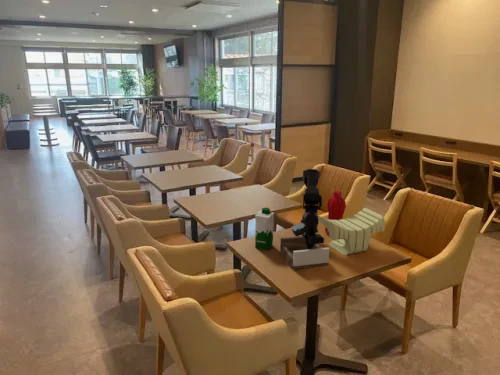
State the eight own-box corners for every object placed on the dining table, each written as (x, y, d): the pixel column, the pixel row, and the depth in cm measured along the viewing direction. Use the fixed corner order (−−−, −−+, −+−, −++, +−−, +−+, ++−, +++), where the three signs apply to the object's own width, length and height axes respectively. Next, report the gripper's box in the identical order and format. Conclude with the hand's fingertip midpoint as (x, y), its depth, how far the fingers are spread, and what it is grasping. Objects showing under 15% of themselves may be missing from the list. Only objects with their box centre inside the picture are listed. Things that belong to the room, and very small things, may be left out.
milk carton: (274, 244, 199) (275, 208, 194) (268, 251, 191) (269, 214, 186) (259, 241, 203) (259, 206, 197) (252, 248, 195) (253, 211, 189)
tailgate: (292, 264, 174) (293, 250, 172) (327, 261, 177) (328, 247, 176) (293, 266, 172) (294, 252, 170) (328, 262, 176) (329, 248, 174)
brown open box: (280, 252, 190) (280, 238, 188) (313, 249, 194) (314, 234, 192) (291, 268, 174) (292, 252, 172) (327, 264, 178) (328, 248, 176)
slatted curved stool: (333, 260, 183) (336, 226, 178) (315, 247, 197) (317, 215, 192) (382, 249, 194) (386, 217, 189) (361, 238, 208) (364, 207, 203)
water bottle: (331, 239, 206) (334, 195, 199) (323, 231, 216) (325, 189, 209) (347, 237, 208) (350, 194, 201) (337, 230, 218) (341, 188, 211)
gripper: (287, 212, 178) (286, 243, 183) (301, 227, 161) (299, 260, 165) (309, 211, 181) (307, 241, 185) (325, 225, 163) (323, 258, 168)
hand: (308, 250), depth 176 cm, fingers closed
